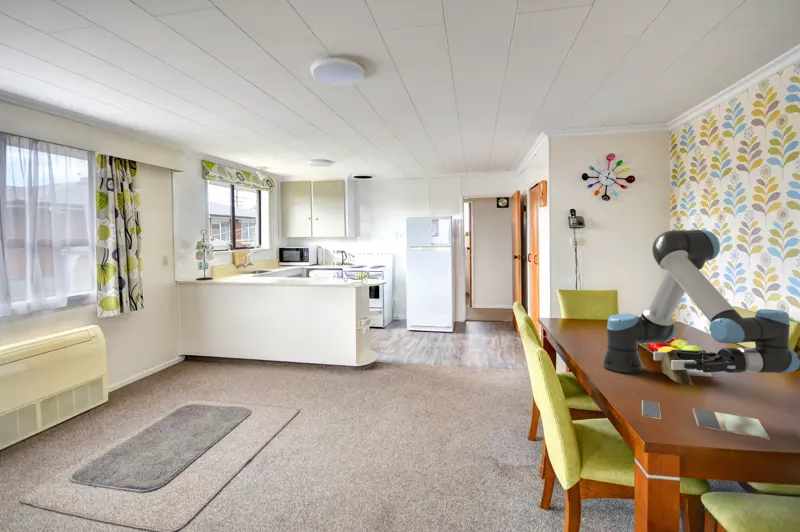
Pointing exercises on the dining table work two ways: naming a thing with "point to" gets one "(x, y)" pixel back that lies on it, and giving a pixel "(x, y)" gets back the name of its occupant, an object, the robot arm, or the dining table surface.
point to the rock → (675, 375)
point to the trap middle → (707, 418)
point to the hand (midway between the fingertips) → (662, 360)
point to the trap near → (651, 409)
